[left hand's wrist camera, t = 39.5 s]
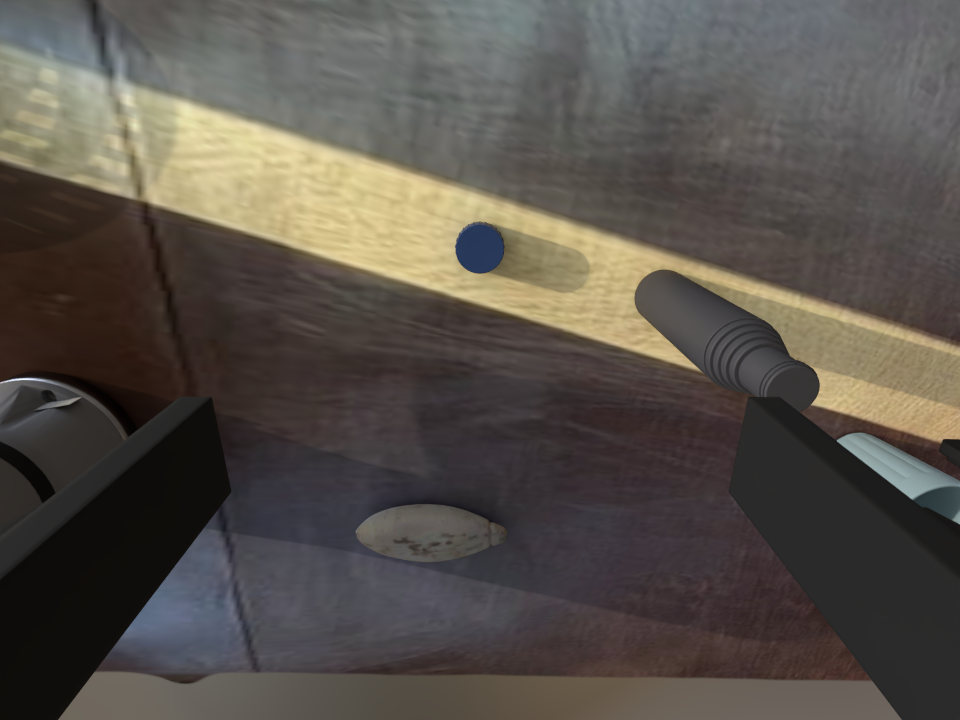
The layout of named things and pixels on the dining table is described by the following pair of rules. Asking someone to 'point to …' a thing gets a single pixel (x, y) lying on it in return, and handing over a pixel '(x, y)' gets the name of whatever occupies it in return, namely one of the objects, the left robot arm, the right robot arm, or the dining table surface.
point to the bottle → (724, 340)
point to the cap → (479, 247)
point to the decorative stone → (428, 533)
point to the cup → (908, 474)
